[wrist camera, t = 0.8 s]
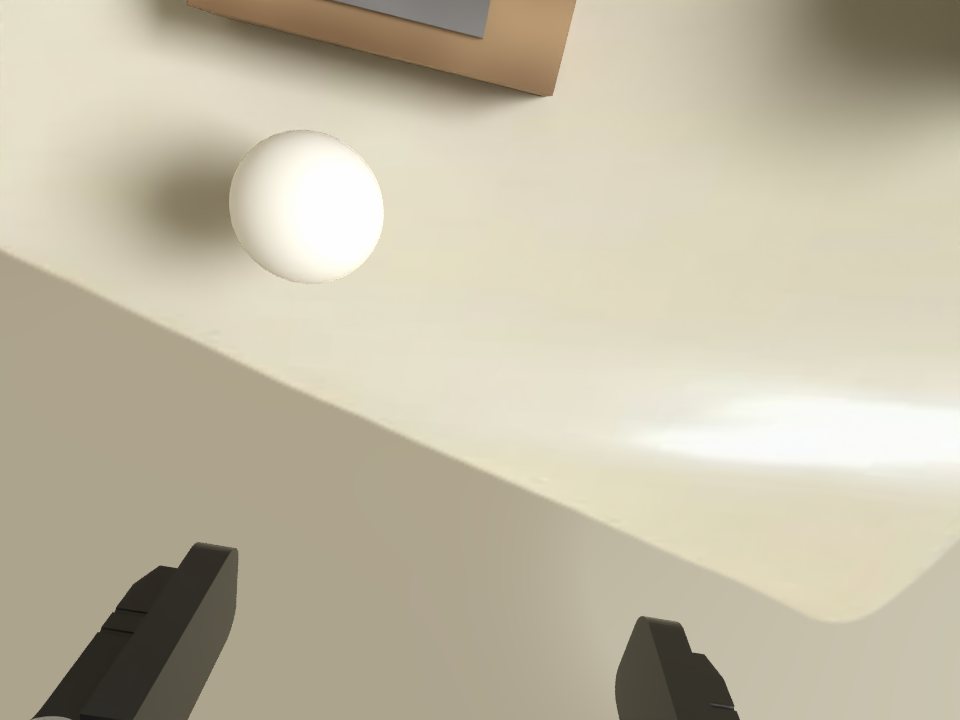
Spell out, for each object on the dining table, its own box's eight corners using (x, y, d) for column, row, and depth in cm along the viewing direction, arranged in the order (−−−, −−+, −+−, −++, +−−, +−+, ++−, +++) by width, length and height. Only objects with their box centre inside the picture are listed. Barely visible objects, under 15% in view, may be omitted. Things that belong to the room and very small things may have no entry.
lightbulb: (307, 249, 34) (229, 311, 24) (279, 133, 31) (178, 146, 21) (416, 235, 33) (383, 292, 23) (395, 116, 31) (349, 121, 21)
